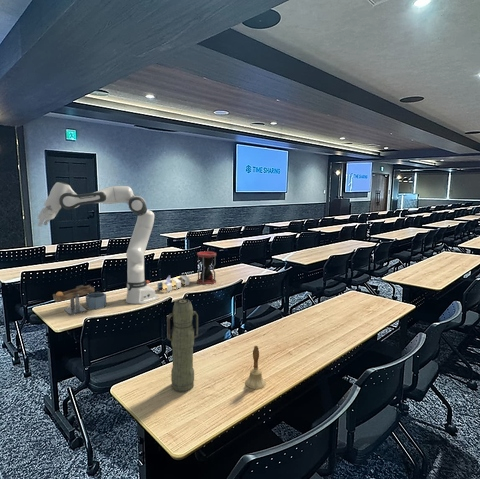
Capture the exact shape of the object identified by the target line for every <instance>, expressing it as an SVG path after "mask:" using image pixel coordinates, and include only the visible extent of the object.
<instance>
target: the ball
mask: <svg viewBox="0 0 480 479" xmlns="http://www.w3.org/2000/svg"><path fill="white" fill-rule="evenodd" d="M62 292H63V291H57V292H56V293H55V294H56V296H57V297H59V296H63V293H62Z"/></svg>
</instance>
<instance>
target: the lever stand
mask: <svg viewBox="0 0 480 479" xmlns="http://www.w3.org/2000/svg"><path fill="white" fill-rule="evenodd" d="M69 300H70V307H66V308H63V312H65V313H66V314H68V316H75V315H79V314H82V313H83V312H84V313H87V312H88V310H87V309H86V308H84V306H82V305H81V304H80V296H79V294H75V298H71V299H69ZM84 313H83V314H84ZM74 314H75V315H74Z"/></svg>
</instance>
